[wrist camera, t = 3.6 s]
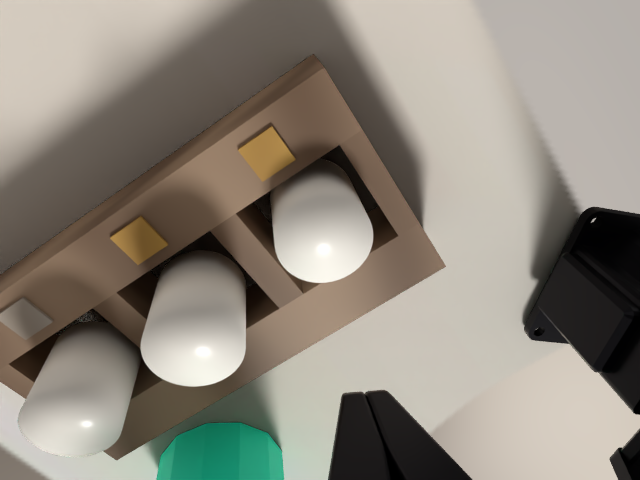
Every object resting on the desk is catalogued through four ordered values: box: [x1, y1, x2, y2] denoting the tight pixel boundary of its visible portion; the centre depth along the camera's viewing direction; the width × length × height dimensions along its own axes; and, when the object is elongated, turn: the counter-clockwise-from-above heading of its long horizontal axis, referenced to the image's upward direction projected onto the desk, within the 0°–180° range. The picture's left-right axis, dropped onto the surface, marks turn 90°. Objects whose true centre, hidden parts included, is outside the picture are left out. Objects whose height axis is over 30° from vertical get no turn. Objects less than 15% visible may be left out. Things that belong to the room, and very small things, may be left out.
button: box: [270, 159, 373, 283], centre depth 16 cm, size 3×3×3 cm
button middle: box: [141, 250, 246, 387], centre depth 16 cm, size 3×3×3 cm
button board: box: [0, 54, 446, 460], centre depth 17 cm, size 15×8×3 cm, turn 122°
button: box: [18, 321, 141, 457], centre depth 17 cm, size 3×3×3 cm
